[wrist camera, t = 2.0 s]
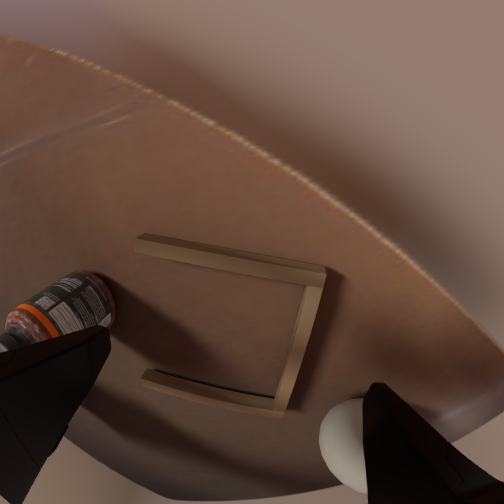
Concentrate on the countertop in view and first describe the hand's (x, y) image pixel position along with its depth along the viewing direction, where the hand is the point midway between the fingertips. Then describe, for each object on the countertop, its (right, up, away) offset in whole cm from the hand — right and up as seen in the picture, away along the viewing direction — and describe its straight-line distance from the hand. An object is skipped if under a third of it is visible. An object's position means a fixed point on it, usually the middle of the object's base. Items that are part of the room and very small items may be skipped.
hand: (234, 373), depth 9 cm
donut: (+11, -10, +14) cm, 21 cm away
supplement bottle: (-14, 0, +15) cm, 20 cm away
